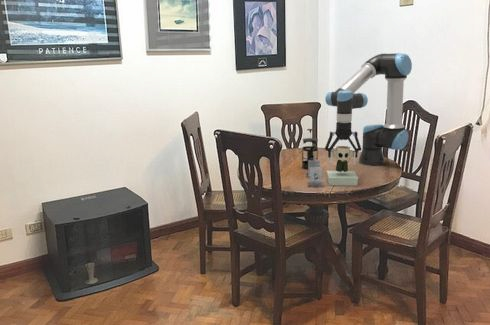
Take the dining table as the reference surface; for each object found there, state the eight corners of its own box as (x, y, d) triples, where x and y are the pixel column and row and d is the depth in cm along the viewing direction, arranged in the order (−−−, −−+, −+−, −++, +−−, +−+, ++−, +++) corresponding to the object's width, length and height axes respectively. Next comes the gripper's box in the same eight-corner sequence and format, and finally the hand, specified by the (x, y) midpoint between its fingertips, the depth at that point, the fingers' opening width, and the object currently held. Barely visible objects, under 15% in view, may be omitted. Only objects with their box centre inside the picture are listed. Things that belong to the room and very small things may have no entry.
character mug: (331, 173, 232) (333, 148, 229) (330, 169, 239) (331, 145, 236) (353, 173, 232) (355, 148, 228) (351, 170, 238) (352, 145, 235)
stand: (353, 178, 243) (354, 170, 242) (358, 185, 229) (358, 178, 228) (326, 177, 244) (326, 170, 243) (328, 185, 230) (329, 177, 229)
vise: (320, 174, 251) (320, 158, 249) (324, 187, 227) (324, 170, 225) (305, 174, 251) (306, 158, 249) (308, 187, 228) (308, 170, 225)
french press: (316, 170, 260) (317, 130, 255) (300, 169, 263) (300, 130, 257) (319, 165, 271) (320, 127, 266) (303, 164, 274) (304, 127, 268)
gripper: (366, 120, 232) (364, 162, 237) (320, 120, 234) (319, 161, 239) (368, 122, 224) (366, 165, 230) (321, 122, 227) (320, 165, 232)
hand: (342, 163), depth 234 cm, fingers closed on character mug, 11 cm apart
